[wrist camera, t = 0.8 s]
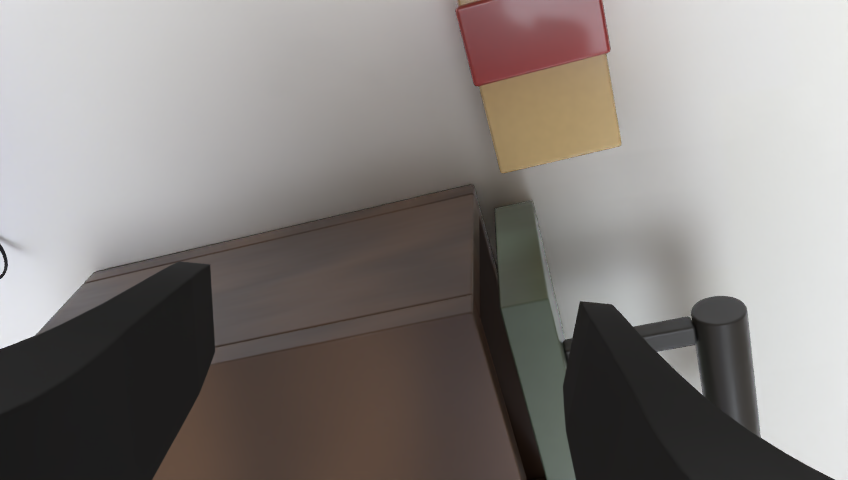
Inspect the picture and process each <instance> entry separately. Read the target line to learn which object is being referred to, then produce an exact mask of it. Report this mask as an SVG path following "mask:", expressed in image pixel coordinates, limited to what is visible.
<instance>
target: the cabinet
mask: <svg viewBox="0 0 848 480" xmlns="http://www.w3.org/2000/svg"><path fill="white" fill-rule="evenodd" d="M179 261H181V262H191V263H201V264H210V269H211V286H212V304H213V321H214V338H215V353H214V356H213V359H212V362H211V365H210V367H209V370H208V373H207V376H206V378H205V381H204V383H203V386H202V389H201V391H200V394H199V396H198V397H197V399H196V401H195V403H194V405H193V407H192V409H191V411H190V412H189V414H188V416H187V418H186V420H185V422H184V423H183V425H182V427H181V429H180V431H179V432H178V434H177V436H176V438H175V440H174V441H173V443H172V445H171V447H170V449H169V450H168V452H167V454H166V456H165V458H164V459H163V461H162V463H161V465H160V467H159V468H158V470H157V472H156V474H155V476H154V477H153V479H152V480H526V479H527V480H546V476H545V473H544V469H543V465H542V462H541V458H540V454H539V451H538V447H537V443H536V440H535V436H534V432H533V429H532V425H531V421H530V418H529V414H528V411H527V407H526V403H525V400H524V396H523V392H522V389H521V385H520V381H519V378H518V374H517V370H516V367H515V363H514V359H513V356H512V352H511V348H510V345H509V341H508V337H507V334H506V330H505V326H504V323H503V319H502V315H501V312H500V304H499V285H498V273H497V269H496V265H495V262H494V258H493V254H492V250H491V247H490V243H489V239H488V236H487V232H486V228H485V224H484V221H483V217H482V213H481V210H480V206H479V202H478V198H477V195H476V191H475V187H474V185H472V184H471V185H467V186H463V187H458V188H454V189H450V190H446V191H441V192H437V193H433V194H428V195H424V196H420V197H416V198H411V199H407V200H403V201H398V202H394V203H390V204H386V205H381V206H377V207H373V208H368V209H364V210H360V211H355V212H351V213H347V214H343V215H338V216H334V217H330V218H325V219H321V220H317V221H313V222H308V223H304V224H300V225H295V226H291V227H287V228H283V229H278V230H274V231H270V232H265V233H261V234H257V235H253V236H248V237H244V238H240V239H235V240H231V241H227V242H222V243H218V244H214V245H210V246H205V247H201V248H197V249H192V250H188V251H184V252H180V253H175V254H171V255H167V256H162V257H158V258H154V259H150V260H145V261H141V262H137V263H132V264H128V265H124V266H120V267H115V268H111V269H107V270H102V271H98V272H94V273H93V274H92V275H91V276H90V277H89V278H88V279H87V280H86V281H85V283H84V284H83V285H82V286H81V287H80V288H79V289H78V290H77V291H76V292H75V293H74V294H73V295H72V297H71V298H70V299H69V300H68V301H67V302H66V303H65V304H64V305H63V306H62V307H61V308H60V309H59V310H58V312H57V313H56V314H55V315H54V316H53V317H52V318H51V319H50V320H49V321H48V322H47V323H46V324H45V326H44V327H43V328H42V329H41V330H40V331H39V332H38V333H37V334H36V335H38V334H40V333H43V332H45V331H47V330H50V329H52V328H54V327H56V326H58V325H61V324H63V323H65V322H67V321H69V320H71V319H73V318H75V317H77V316H79V315H80V314H82V313H84V312H86V311H88V310H90V309H92V308H94V307H96V306H98V305H100V304H102V303H104V302H106V301H108V300H110V299H111V298H113V297H115V296H117V295H118V294H120V293H122V292H124V291H126V290H127V289H129V288H131V287H133V286H135V285H136V284H138V283H140V282H142V281H143V280H145V279H147V278H149V277H150V276H152V275H154V274H156V273H157V272H159V271H161V270H163V269H165V268H167V267H168V266H170V265H172V264H175V263H177V262H179ZM480 318H481V322H482V325H483V328H482V325H481V322H480ZM483 329H484V332H485V335H484V332H483ZM36 335H35V336H36ZM485 336H486V339H487V342H486V339H485ZM487 343H488V346H489V349H490V353H491V356H492V360H493V363H494V366H493V363H492V360H491V356H490V353H489V349H488V346H487ZM494 367H495V370H496V373H495V370H494ZM496 374H497V377H498V380H497V377H496ZM498 381H499V384H500V387H499V384H498ZM500 388H501V391H502V394H501V391H500ZM502 395H503V398H504V401H505V405H506V408H507V411H506V408H505V405H504V401H503V398H502ZM507 412H508V415H509V418H508V415H507ZM509 419H510V422H511V425H510V422H509ZM511 426H512V429H513V432H512V429H511ZM513 433H514V436H515V439H514V436H513ZM515 440H516V443H517V446H516V443H515ZM517 447H518V450H519V453H518V450H517ZM519 454H520V456H519ZM520 457H521V460H522V463H521V460H520ZM522 464H523V467H524V470H523V467H522ZM524 471H525V474H526V477H525V474H524Z"/></svg>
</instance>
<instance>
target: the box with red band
mask: <svg viewBox="0 0 848 480" xmlns="http://www.w3.org/2000/svg"><path fill="white" fill-rule="evenodd" d="M455 12H456V16H457V20H458V24H459V28H460V32H461V36H462V40H463V44H464V48H465V52H466V56H467V60H468V64H469V67H470V71H471V75H472V79H473V83H474V85H475V86H479V89H480V93H481V97H482V101H483V105H484V109H485V113H486V117H487V121H488V125H489V129H490V133H491V137H492V141H493V145H494V149H495V153H496V157H497V161H498V165H499V169H500V172H501V173H508V172H512V171H516V170H521V169H525V168H529V167H533V166H538V165H542V164H546V163H550V162H555V161H559V160H563V159H568V158H572V157H576V156H580V155H585V154H589V153H593V152H598V151H602V150H606V149H610V148H615V147H619V146H621V137H620V131H619V125H618V120H617V114H616V108H615V102H614V96H613V90H612V85H611V79H610V73H609V67H608V61H607V55H606V54H607V53H608V52H610V49H611V48H610V42H609V37H608V31H607V25H606V19H605V13H604V7H603V1H602V0H457V3H456V10H455Z"/></svg>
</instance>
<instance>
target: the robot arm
mask: <svg viewBox="0 0 848 480" xmlns="http://www.w3.org/2000/svg"><path fill="white" fill-rule="evenodd" d="M214 353H215V338H214V321H213V304H212V286H211V269H210V264H201V263H191V262H181V261H179V262H177V263H175V264H172V265H170V266H168V267H167V268H165V269H163V270H161V271H159V272H157V273H156V274H154V275H152V276H150V277H149V278H147V279H145V280H143V281H142V282H140V283H138V284H136V285H135V286H133V287H131V288H129V289H127V290H126V291H124V292H122V293H120V294H118V295H117V296H115V297H113V298H111V299H110V300H108V301H106V302H104V303H102V304H100V305H98V306H96V307H94V308H92V309H90V310H88V311H86V312H84V313H82V314H80V315H79V316H77V317H75V318H73V319H71V320H69V321H67V322H65V323H63V324H61V325H58V326H56V327H54V328H52V329H50V330H47V331H45V332H43V333H40V334H38V335H36V336H33V337H31V338H28V339H26V340H23V341H21V342H18V343H16V344H13V345H10V346H8V347H5V348H2V349H0V480H152V479H153V477H154V476H155V474H156V472H157V470H158V468H159V467H160V465H161V463H162V461H163V459H164V458H165V456H166V454H167V452H168V450H169V449H170V447H171V445H172V443H173V441H174V440H175V438H176V436H177V434H178V432H179V431H180V429H181V427H182V425H183V423H184V422H185V420H186V418H187V416H188V414H189V412H190V411H191V409H192V407H193V405H194V403H195V401H196V399H197V397H198V396H199V394H200V391H201V389H202V386H203V383H204V381H205V378H206V376H207V373H208V370H209V367H210V365H211V362H212V359H213V356H214ZM563 399H564V414H565V427H566V435H567V440H568V445H569V449H570V454H571V459H572V464H573V468H574V473H575V478H576V480H834V479H832V478H830V477H828V476H826V475H825V474H823V473H821V472H819V471H817V470H815V469H813V468H811V467H809V466H807V465H805V464H804V463H802V462H800V461H798V460H796V459H795V458H793V457H791V456H789V455H788V454H786V453H784V452H783V451H781V450H779V449H778V448H776V447H775V446H773V445H771V444H770V443H768V442H767V441H765V440H763V439H762V438H760V437H759V436H757V435H755V434H754V433H752V432H751V431H750V430H748V429H747V428H745V427H744V426H742V425H741V424H739V423H738V422H737V421H735V420H734V419H733V418H731V417H730V416H729V415H727V414H726V413H725V412H723V411H722V410H721V409H719V408H718V407H717V406H715V405H714V404H713V403H712V402H710V401H709V400H708V399H707V398H705V397H704V396H703V395H702V394H701V393H700V392H698V391H697V390H696V389H695V388H694V387H693V386H692V385H691V384H689V383H688V382H687V381H686V380H685V379H684V378H683V377H682V376H680V375H679V374H678V373H677V372H676V371H675V370H674V369H673V368H672V367H671V366H670V365H669V364H668V363H667V362H666V361H665V360H664V359H663V358H662V357H661V356H660V355H659V354H658V353H657V352H656V351H655V350H654V349H653V348H652V347H651V346H650V345H649V344H648V343H647V342H646V340H645V339H644V338H643V337H642V336H641V335H640V334H639V333H638V332H637V331H636V330H635V329H634V327H633V326H632V325H631V324H630V323H629V322H628V321H627V320H626V319H625V318H624V317H623V315H622V314H621V313H620V312H619V311H618V310H617V309H616V308H615V307H614V306H613V305H611V304H601V303H591V302H581V301H580V304H579V309H578V314H577V319H576V324H575V329H574V334H573V339H572V344H571V349H570V354H569V358H568V363H567V368H566V373H565V378H564V383H563Z"/></svg>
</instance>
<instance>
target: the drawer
mask: <svg viewBox="0 0 848 480" xmlns="http://www.w3.org/2000/svg"><path fill="white" fill-rule="evenodd" d="M495 229H496V248H497V267H498V285H499V304H500V312H501V315H502V319H503V323H504V326H505V330H506V334H507V337H508V341H509V345H510V348H511V352H512V356H513V359H514V363H515V367H516V370H517V374H518V378H519V381H520V385H521V389H522V392H523V396H524V400H525V403H526V407H527V411H528V414H529V418H530V421H531V425H532V429H533V432H534V436H535V440H536V443H537V447H538V451H539V454H540V458H541V462H542V465H543V469H544V473H545V476H546V480H576V478H575V473H574V468H573V464H572V459H571V454H570V449H569V445H568V440H567V435H566V427H565V414H564V399H563V383H564V378H565V373H566V368H567V363H568V358H569V354H570V349H571V344H572V339H573V338H572V339H567V340H565V336H564V332H563V327H562V323H561V319H560V315H559V310H558V306H557V302H556V298H555V293H554V289H553V285H552V280H551V276H550V272H549V268H548V263H547V259H546V255H545V250H544V246H543V242H542V238H541V233H540V229H539V225H538V221H537V216H536V212H535V208H534V203H533V201H526V202H522V203H518V204H513V205H509V206H504V207H500V208H496V209H495ZM691 317H692V320H691V318H690V317H682V318H677V319H672V320H666V321H661V322H656V323H651V324H645V325H640V326H635V327H634V329H635V330H636V331H637V332H638V333H639V334H640V335H641V336H642V337H643V338H644V339H645V340H646V342H647V343H648V344H649V345H650V346H651V347H652V348H653V349H654V350H655V351H656V352H658V351H663V350H669V349H674V348H680V347H685V346H691V345H696V351H697V358H698V365H699V372H700V379H701V386H702V393H703V396H704V397H705V398H707V399H708V400H709V401H710V402H712V403H713V404H714V405H715V406H717V407H718V408H719V409H721V410H722V411H723V412H725V413H726V414H727V415H729V416H730V417H731V418H733V419H734V420H735V421H737V422H738V423H739V424H741V425H742V426H744V427H745V428H747V429H748V430H750V431H751V432H752V433H754V434H755V435H757V436H759V437H760V438H761V436H760V426H759V417H758V407H757V398H756V389H755V379H754V370H753V360H752V351H751V341H750V332H749V323H748V313H747V308H746V306H745V304H744V303H743V302H742V301H740V300H738V299H736V298H733V297H728V296H714V297H709V298H705V299H703V300H701V301H699V302H697V303H696V304H695V305H694V306H693V308H692V310H691ZM480 322H481V318H480ZM481 325H482V322H481ZM482 328H483V325H482ZM483 332H484V329H483ZM484 335H485V332H484ZM485 339H486V336H485ZM486 342H487V339H486ZM487 346H488V343H487ZM488 349H489V346H488ZM489 353H490V349H489ZM490 356H491V353H490ZM491 360H492V356H491ZM492 363H493V360H492ZM493 366H494V363H493ZM494 370H495V367H494ZM495 373H496V370H495ZM496 377H497V374H496ZM497 380H498V377H497ZM498 384H499V381H498ZM499 387H500V384H499ZM500 391H501V388H500ZM501 394H502V391H501ZM502 398H503V395H502ZM503 401H504V398H503ZM504 405H505V401H504ZM505 408H506V405H505ZM506 411H507V408H506ZM507 415H508V412H507ZM508 418H509V415H508ZM509 422H510V419H509ZM510 425H511V422H510ZM511 429H512V426H511ZM512 432H513V429H512ZM513 436H514V433H513ZM514 439H515V436H514ZM515 443H516V440H515ZM516 446H517V443H516ZM517 450H518V447H517ZM518 453H519V450H518ZM519 456H520V454H519ZM520 460H521V457H520ZM521 463H522V460H521ZM522 467H523V464H522ZM523 470H524V467H523ZM524 474H525V471H524ZM525 477H526V474H525ZM526 480H527V479H526Z"/></svg>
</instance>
